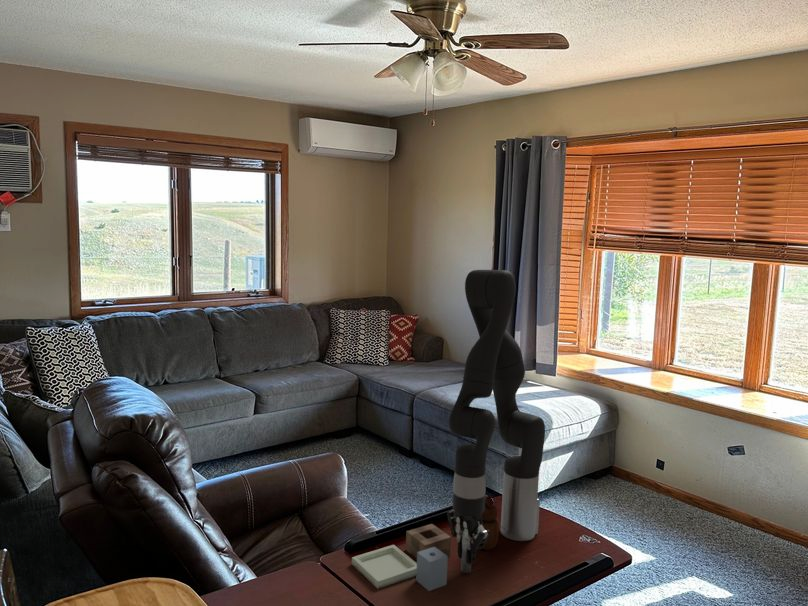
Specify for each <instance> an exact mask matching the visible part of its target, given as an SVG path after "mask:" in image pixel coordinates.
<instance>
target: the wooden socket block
mask: <svg viewBox="0 0 808 606" xmlns="http://www.w3.org/2000/svg"><path fill="white" fill-rule="evenodd" d="M405 535H406V537H405V551H406V552H408V553H409V554H410V555H411V556H413V557H414V558H415V559H416V560H417V552H419V551H422V550H426V549H429V548H432V547H436V548H437V549H439V550H440V551H441V552H443V553H444V554H445V555H447V556H448V557H450V556H451V546H452V545H451V544H452V537H451V535H449V534H448V533H446V532H445V531H443V530H441V529H440V528H439V527H438V526H436V525H435V524H434V523H429V524H426V525H422V526H419V527H416V528H412V529H410V530H406V532H405Z"/></svg>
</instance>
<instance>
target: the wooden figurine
mask: <svg viewBox="0 0 808 606" xmlns="http://www.w3.org/2000/svg"><path fill="white" fill-rule="evenodd" d="M497 517H498V509H497V506H496V505H495V504H493V494H492V493H490V492H489V493H488V495H487V496H485V510H484V512H483V514H482V516H481V518H482V522H483V524H482V526H483V527H484V529H485V530H489V531H490V535H489V537H488V539H487V541H486V543H485V545H484V547H483V548H481V550H484V551H485V550H486V551H489V550H490V551H491V550H492V549H494V548H495V547H496V545H497V542H498V539H499V522H498V520H497Z"/></svg>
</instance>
